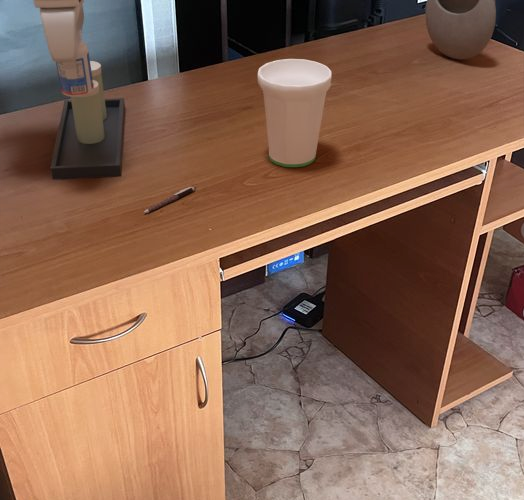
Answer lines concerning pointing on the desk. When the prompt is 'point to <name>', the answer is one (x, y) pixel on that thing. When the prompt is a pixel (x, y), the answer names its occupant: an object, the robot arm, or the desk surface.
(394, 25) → the desk surface
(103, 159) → the tray
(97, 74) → the bottle back
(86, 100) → the bottle mid
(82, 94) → the pill bottle
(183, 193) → the pen
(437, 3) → the planter
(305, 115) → the cup
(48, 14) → the robot arm
